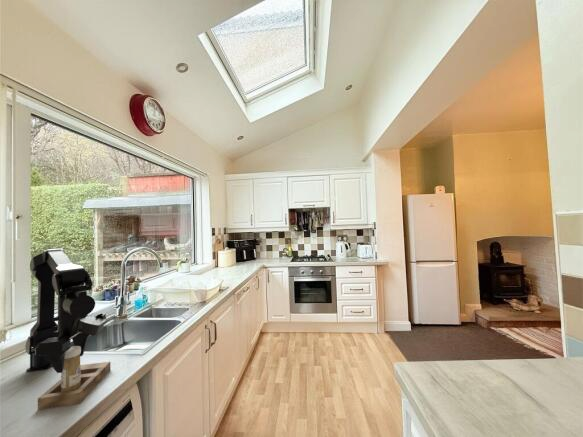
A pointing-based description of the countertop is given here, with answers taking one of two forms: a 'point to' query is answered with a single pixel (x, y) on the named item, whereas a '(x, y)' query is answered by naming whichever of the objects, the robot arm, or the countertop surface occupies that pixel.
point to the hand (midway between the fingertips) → (70, 363)
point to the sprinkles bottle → (71, 370)
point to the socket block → (88, 382)
